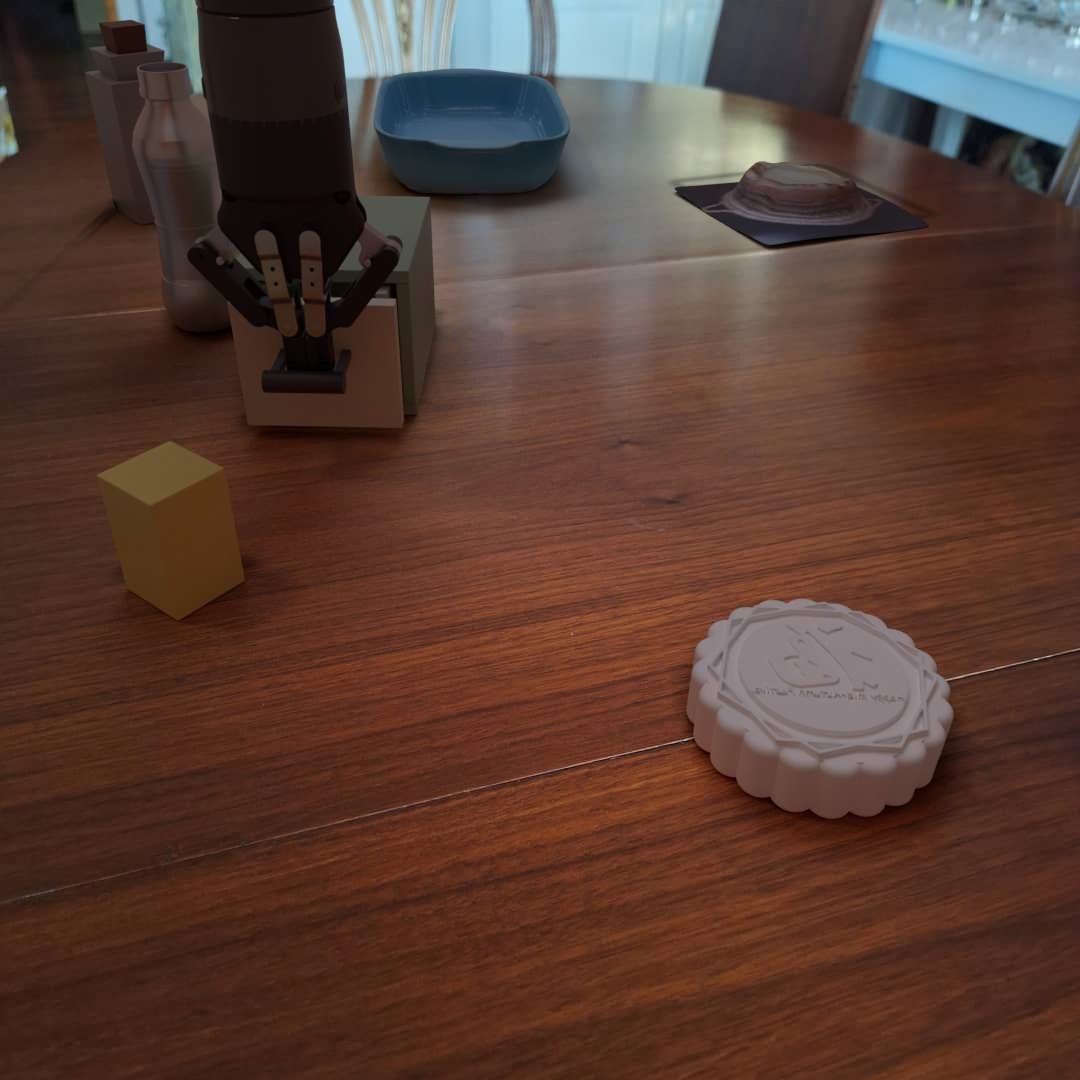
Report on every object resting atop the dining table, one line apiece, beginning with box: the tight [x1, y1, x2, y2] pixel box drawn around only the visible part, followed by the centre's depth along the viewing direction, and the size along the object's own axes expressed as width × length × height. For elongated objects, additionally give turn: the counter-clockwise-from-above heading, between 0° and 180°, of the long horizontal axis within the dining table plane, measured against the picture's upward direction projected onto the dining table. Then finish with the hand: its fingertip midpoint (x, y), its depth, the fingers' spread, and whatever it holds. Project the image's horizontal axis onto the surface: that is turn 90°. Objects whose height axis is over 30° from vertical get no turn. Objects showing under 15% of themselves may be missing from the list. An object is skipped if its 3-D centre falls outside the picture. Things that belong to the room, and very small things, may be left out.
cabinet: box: [236, 195, 437, 416], centre depth 78 cm, size 16×12×11 cm
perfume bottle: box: [84, 19, 165, 226], centre depth 105 cm, size 7×7×18 cm
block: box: [96, 440, 246, 621], centre depth 56 cm, size 5×5×8 cm
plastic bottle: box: [132, 61, 232, 333], centre depth 81 cm, size 6×7×20 cm
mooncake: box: [686, 598, 955, 820], centre depth 49 cm, size 12×12×4 cm
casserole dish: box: [373, 68, 571, 195], centre depth 125 cm, size 37×22×7 cm, turn 5°
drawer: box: [228, 281, 405, 429], centre depth 72 cm, size 20×11×9 cm, turn 0°
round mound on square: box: [674, 160, 930, 246], centre depth 114 cm, size 21×20×4 cm
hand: (313, 383), depth 67 cm, fingers closed
